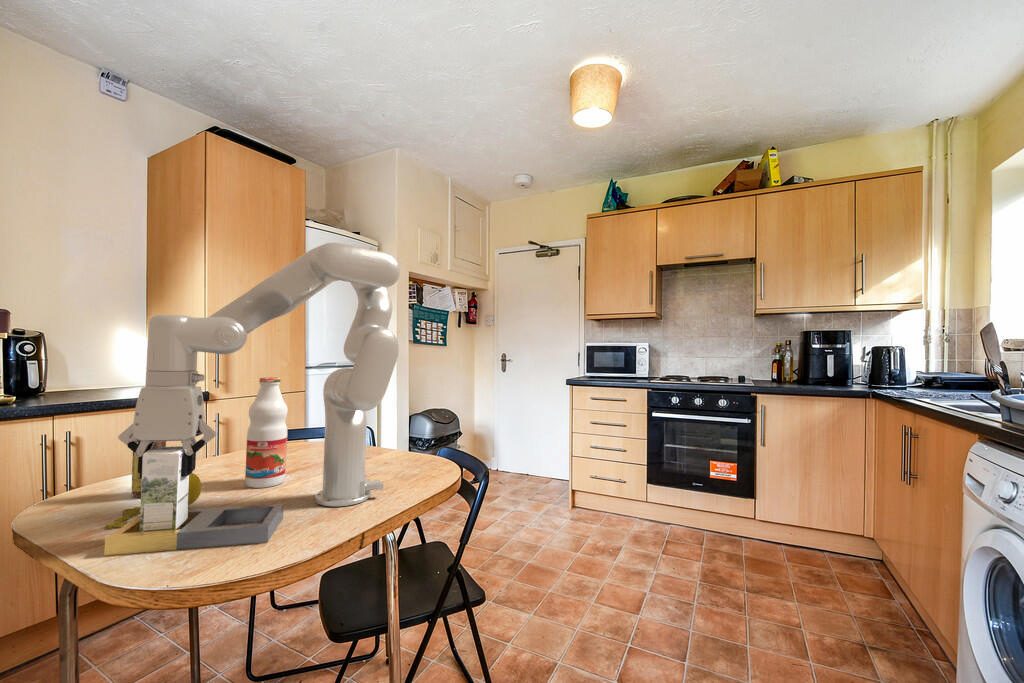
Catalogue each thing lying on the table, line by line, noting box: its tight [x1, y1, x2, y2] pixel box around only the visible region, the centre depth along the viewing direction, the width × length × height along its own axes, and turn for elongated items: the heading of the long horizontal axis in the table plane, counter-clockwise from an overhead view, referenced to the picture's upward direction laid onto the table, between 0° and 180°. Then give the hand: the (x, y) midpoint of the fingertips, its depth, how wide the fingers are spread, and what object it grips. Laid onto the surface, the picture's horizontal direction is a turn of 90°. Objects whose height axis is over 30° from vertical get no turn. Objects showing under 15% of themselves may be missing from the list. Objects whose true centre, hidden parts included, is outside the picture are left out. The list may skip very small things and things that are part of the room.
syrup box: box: [139, 445, 189, 532], centre depth 81 cm, size 6×6×14 cm
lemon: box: [188, 472, 202, 507], centre depth 96 cm, size 6×6×8 cm
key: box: [104, 506, 141, 530], centre depth 90 cm, size 12×1×5 cm
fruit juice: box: [244, 377, 289, 489], centre depth 115 cm, size 9×9×28 cm
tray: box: [103, 503, 284, 557], centre depth 83 cm, size 25×12×3 cm, turn 106°
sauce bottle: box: [131, 441, 167, 498], centre depth 103 cm, size 6×6×20 cm
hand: (166, 474), depth 81 cm, fingers closed on syrup box, 5 cm apart
